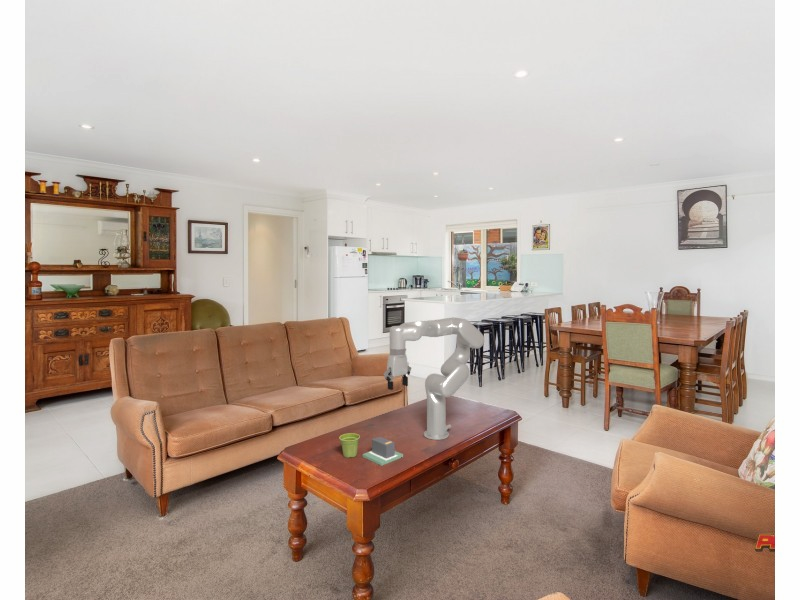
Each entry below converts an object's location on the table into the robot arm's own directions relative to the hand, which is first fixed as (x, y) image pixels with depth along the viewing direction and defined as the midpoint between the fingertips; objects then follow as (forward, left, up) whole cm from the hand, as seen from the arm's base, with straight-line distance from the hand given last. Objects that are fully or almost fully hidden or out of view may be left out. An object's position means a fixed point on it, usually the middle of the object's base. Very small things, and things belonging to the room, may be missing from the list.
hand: (397, 387), depth 218 cm
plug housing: (+14, +5, -27) cm, 31 cm away
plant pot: (+24, -7, -28) cm, 38 cm away
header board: (+15, +5, -28) cm, 32 cm away
